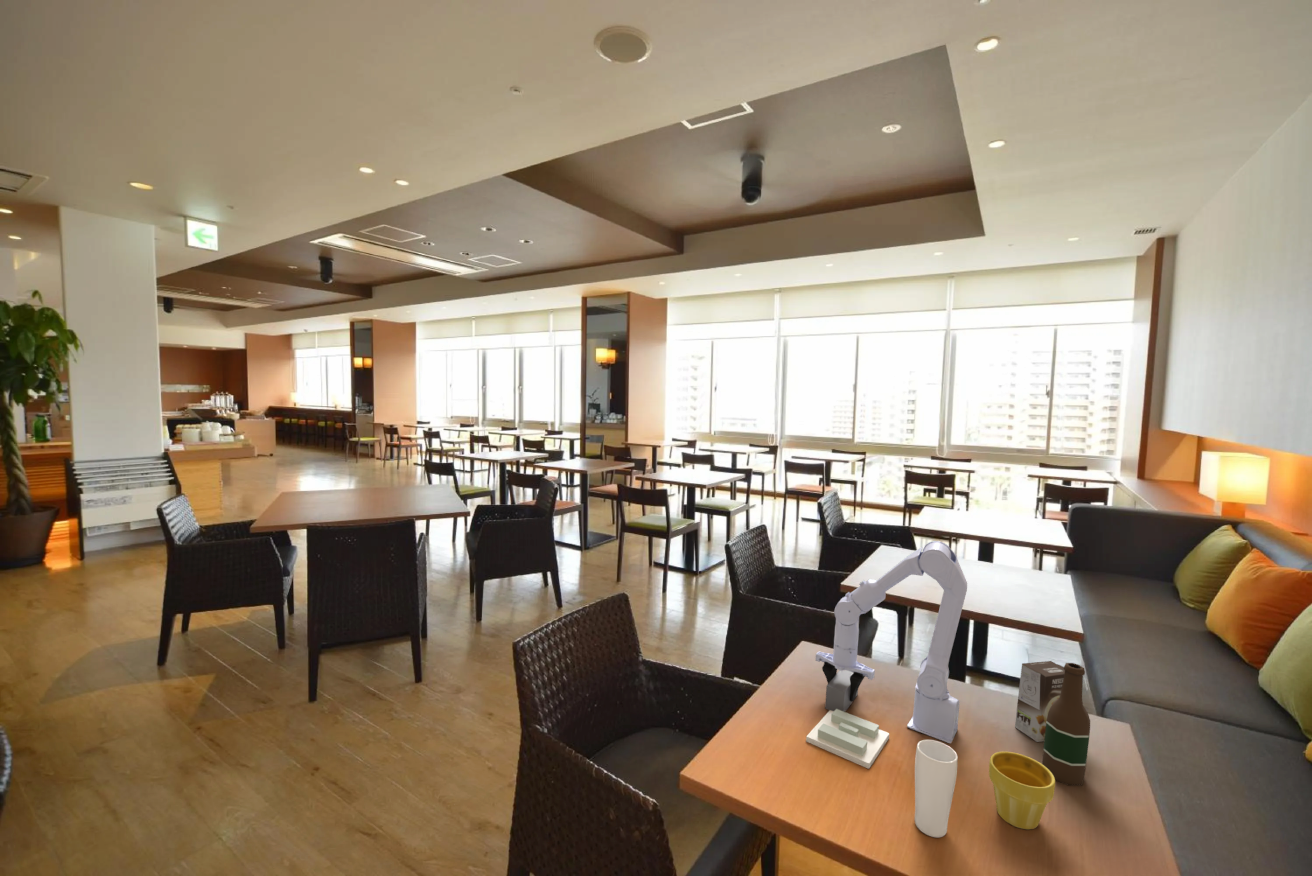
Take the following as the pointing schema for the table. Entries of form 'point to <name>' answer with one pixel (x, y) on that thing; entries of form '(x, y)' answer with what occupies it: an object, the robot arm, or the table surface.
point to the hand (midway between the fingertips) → (842, 696)
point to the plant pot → (1020, 788)
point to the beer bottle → (1068, 730)
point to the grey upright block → (839, 692)
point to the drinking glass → (934, 786)
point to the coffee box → (1037, 696)
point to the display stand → (849, 737)
